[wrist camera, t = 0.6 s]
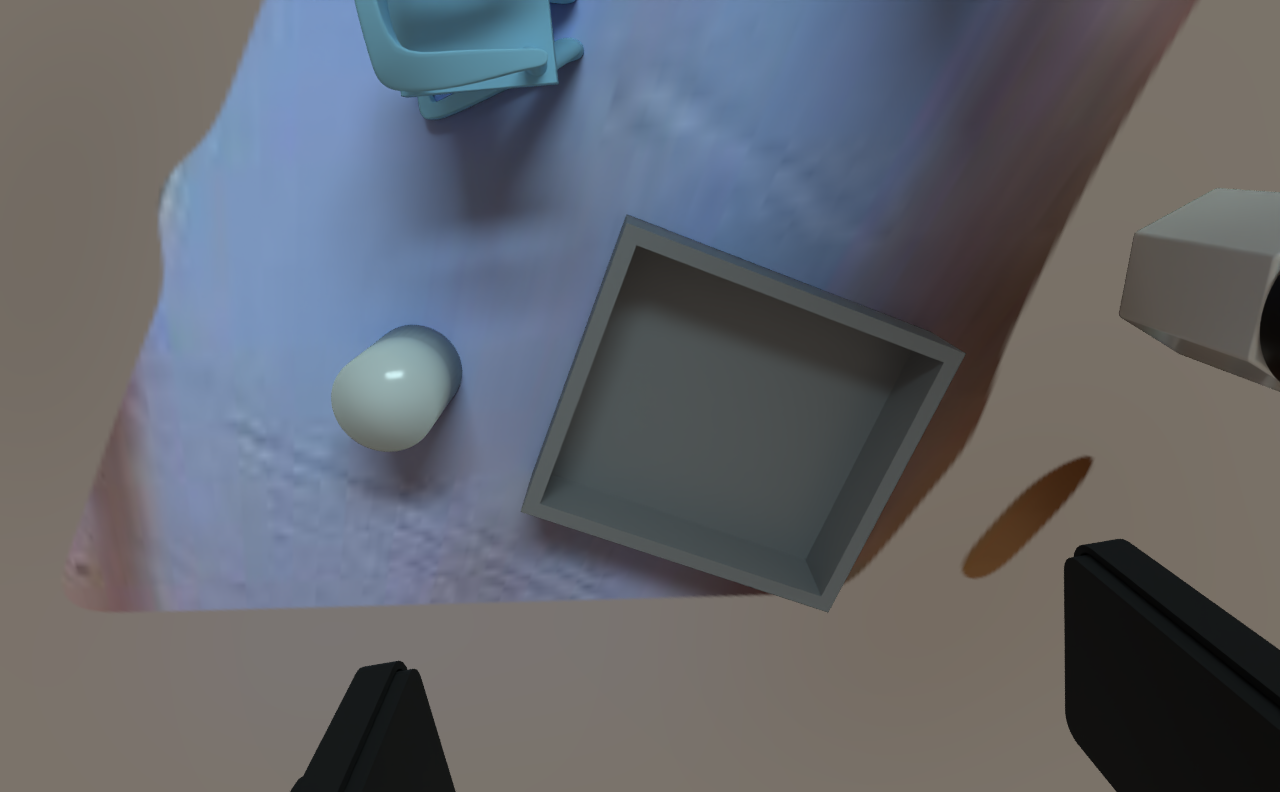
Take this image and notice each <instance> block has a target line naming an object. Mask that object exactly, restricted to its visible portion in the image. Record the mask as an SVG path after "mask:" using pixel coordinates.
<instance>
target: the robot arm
mask: <svg viewBox="0 0 1280 792" xmlns="http://www.w3.org/2000/svg"><path fill="white" fill-rule="evenodd" d="M1064 612H1065V613H1064V614H1065V615H1064V618H1065V714H1066V720H1067V724H1068V727H1069V729H1070V732H1071V734H1072V735H1073V738H1074V739H1075V741H1076V742H1077V744H1078V745H1079V746H1080V747H1081V749H1082V750H1083V751H1084V752H1085V753H1086V755H1087V756H1088V757H1089V758H1090V760H1091V761H1092V762H1093V763H1094V765H1095V766H1096V767H1097V768H1098V769H1099V771H1100V772H1101V773H1102V774H1103V776H1104V777H1105V778H1106V779H1107V780H1108V782H1109V783H1110V784H1111V785H1112V787H1113V788H1114V789H1115V790H1116V792H1280V650H1279V649H1278V648H1276V647H1275V646H1273V645H1272V644H1271V643H1269V642H1268V641H1266V640H1265V639H1264V638H1262V637H1261V636H1259V635H1258V634H1257V633H1255V632H1254V631H1253V630H1251V629H1250V628H1248V627H1247V626H1246V625H1244V624H1243V623H1241V622H1240V621H1239V620H1237V619H1236V618H1234V617H1233V616H1232V615H1230V614H1229V613H1227V612H1226V611H1225V610H1223V609H1222V608H1220V607H1219V606H1218V605H1216V604H1215V603H1213V602H1212V601H1210V600H1209V599H1208V598H1206V597H1205V596H1204V595H1202V594H1201V593H1199V592H1198V591H1197V590H1195V589H1194V588H1192V587H1191V586H1190V585H1188V584H1187V583H1186V582H1184V581H1183V580H1181V579H1180V578H1179V577H1177V576H1176V575H1174V574H1173V573H1172V572H1170V571H1169V570H1167V569H1166V568H1165V567H1163V566H1162V565H1160V564H1159V563H1158V562H1156V561H1155V560H1153V559H1152V558H1151V557H1149V556H1148V555H1146V554H1145V553H1144V552H1142V551H1141V550H1139V549H1138V548H1137V547H1135V546H1134V545H1132V544H1131V543H1130V542H1128V541H1126V540H1124V539H1115V540H1109V541H1104V542H1098V543H1092V544H1086V545H1081V546H1079V547H1077V548H1076V550H1075V553H1074V557H1072V558H1068V559H1067V560H1066V562H1065V566H1064ZM291 792H455V788H454V785H453V782H452V778H451V775H450V772H449V768H448V765H447V762H446V759H445V755H444V752H443V749H442V746H441V742H440V739H439V736H438V732H437V729H436V726H435V722H434V719H433V716H432V712H431V709H430V706H429V702H428V699H427V696H426V693H425V689H424V686H423V682H422V679H421V676H420V674H419V672H418V671H417V670H416V669H410V670H407V667H406V666H405V665H404V663H403V662H401V661H395V662H389V663H383V664H377V665H371V666H365V667H362V668H360V669H359V670H358V671H357V673H356V674H355V676H354V678H353V680H352V682H351V684H350V686H349V688H348V690H347V692H346V694H345V696H344V698H343V700H342V702H341V704H340V705H339V708H338V710H337V711H336V713H335V715H334V717H333V719H332V721H331V723H330V725H329V727H328V729H327V731H326V733H325V735H324V737H323V739H322V741H321V742H320V744H319V747H318V748H317V750H316V752H315V754H314V756H313V758H312V760H311V762H310V764H309V766H308V768H307V770H306V772H305V774H304V776H303V777H301V778H300V779H298V781H297V782H296V784H295V785H294V787H293V788H292V790H291Z"/></svg>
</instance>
